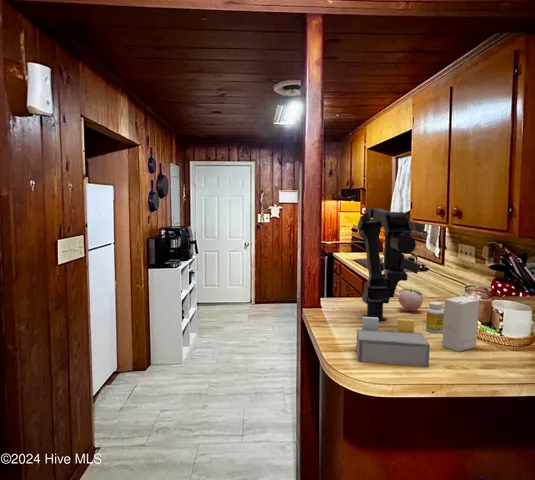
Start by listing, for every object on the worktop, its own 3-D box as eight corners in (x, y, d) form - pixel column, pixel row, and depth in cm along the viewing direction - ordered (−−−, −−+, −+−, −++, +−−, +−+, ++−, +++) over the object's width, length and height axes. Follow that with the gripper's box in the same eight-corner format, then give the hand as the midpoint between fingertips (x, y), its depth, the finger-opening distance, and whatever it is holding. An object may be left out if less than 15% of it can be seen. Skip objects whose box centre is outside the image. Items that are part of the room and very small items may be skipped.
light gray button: (361, 342, 116) (362, 316, 115) (376, 343, 115) (378, 317, 115) (364, 354, 107) (365, 326, 106) (381, 355, 106) (382, 327, 105)
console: (356, 349, 113) (357, 329, 113) (420, 353, 110) (421, 333, 110) (358, 361, 104) (359, 340, 104) (428, 366, 102) (429, 344, 101)
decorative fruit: (424, 310, 156) (425, 286, 155) (420, 315, 149) (421, 290, 148) (400, 307, 161) (401, 283, 160) (395, 311, 154) (396, 287, 153)
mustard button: (396, 344, 114) (397, 318, 114) (411, 345, 114) (413, 319, 113) (402, 357, 105) (403, 328, 104) (419, 358, 104) (420, 329, 104)
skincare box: (459, 341, 121) (462, 295, 119) (477, 348, 115) (480, 299, 114) (440, 345, 117) (443, 297, 116) (458, 352, 112) (461, 302, 110)
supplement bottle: (431, 327, 135) (433, 300, 134) (446, 331, 131) (447, 303, 130) (422, 329, 132) (424, 302, 131) (436, 334, 128) (438, 305, 127)
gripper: (426, 254, 116) (423, 305, 118) (412, 247, 135) (410, 291, 136) (387, 253, 118) (385, 303, 119) (379, 246, 136) (378, 290, 138)
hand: (391, 296), depth 128 cm, fingers closed
